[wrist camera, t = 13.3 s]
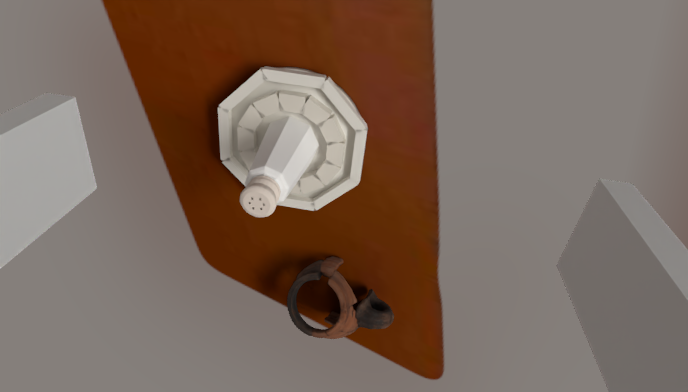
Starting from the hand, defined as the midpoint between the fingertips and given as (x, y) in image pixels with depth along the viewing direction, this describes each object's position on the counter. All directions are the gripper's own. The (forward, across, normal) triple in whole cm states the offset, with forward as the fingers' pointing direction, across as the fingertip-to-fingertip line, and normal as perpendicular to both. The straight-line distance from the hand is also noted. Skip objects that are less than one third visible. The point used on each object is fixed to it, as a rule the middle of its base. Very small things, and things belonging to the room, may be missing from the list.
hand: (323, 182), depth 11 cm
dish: (+29, -7, -13) cm, 32 cm away
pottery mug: (+29, 0, -32) cm, 43 cm away
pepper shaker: (+28, -7, -13) cm, 32 cm away
